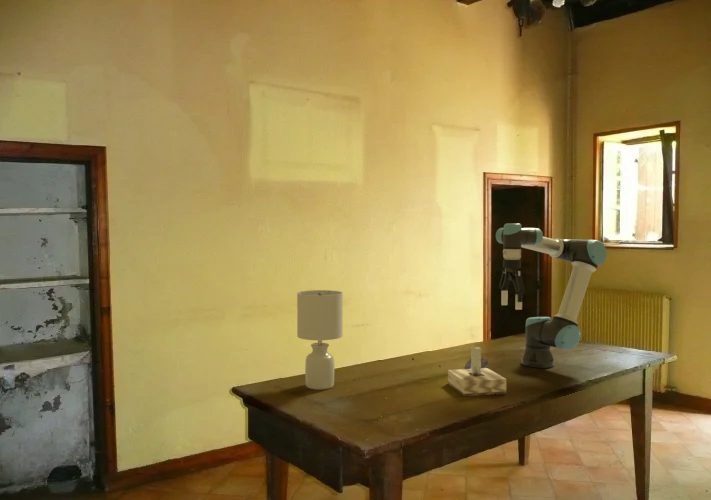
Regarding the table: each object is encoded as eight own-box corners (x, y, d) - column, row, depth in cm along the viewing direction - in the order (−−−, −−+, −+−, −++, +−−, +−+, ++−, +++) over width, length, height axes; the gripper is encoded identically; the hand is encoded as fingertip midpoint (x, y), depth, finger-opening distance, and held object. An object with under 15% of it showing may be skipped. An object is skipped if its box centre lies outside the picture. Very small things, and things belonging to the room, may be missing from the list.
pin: (478, 384, 239) (478, 346, 239) (482, 387, 236) (482, 348, 235) (469, 385, 239) (469, 347, 238) (473, 387, 235) (473, 349, 234)
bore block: (487, 381, 248) (487, 368, 247) (506, 393, 230) (506, 379, 230) (447, 383, 244) (447, 369, 244) (463, 396, 227) (463, 381, 226)
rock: (491, 366, 263) (485, 350, 260) (489, 382, 255) (483, 365, 251) (468, 369, 268) (462, 352, 264) (466, 384, 260) (459, 367, 256)
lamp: (307, 395, 227) (307, 296, 226) (290, 383, 244) (290, 291, 242) (350, 389, 236) (350, 294, 234) (330, 378, 253) (330, 289, 251)
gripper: (491, 257, 262) (491, 303, 263) (517, 260, 238) (516, 311, 239) (507, 257, 263) (506, 303, 264) (534, 260, 239) (533, 311, 240)
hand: (511, 307), depth 251 cm, fingers open, 13 cm apart
